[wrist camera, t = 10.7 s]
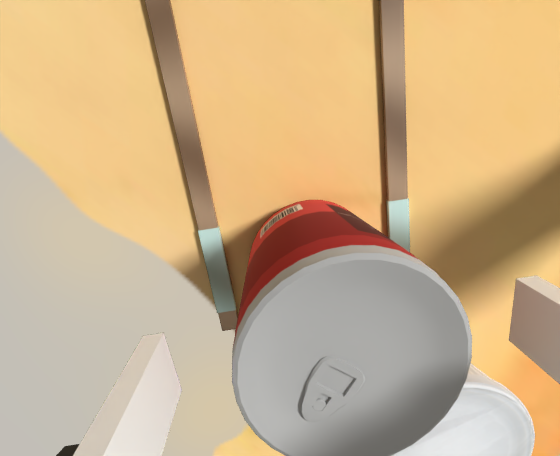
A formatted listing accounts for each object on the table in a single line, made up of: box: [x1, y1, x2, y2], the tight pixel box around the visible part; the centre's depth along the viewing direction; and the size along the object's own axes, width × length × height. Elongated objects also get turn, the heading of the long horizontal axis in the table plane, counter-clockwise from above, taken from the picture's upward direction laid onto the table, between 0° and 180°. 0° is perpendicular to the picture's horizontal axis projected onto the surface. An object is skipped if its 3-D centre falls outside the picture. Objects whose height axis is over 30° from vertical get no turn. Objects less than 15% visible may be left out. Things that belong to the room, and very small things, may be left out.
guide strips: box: [145, 0, 410, 331], centre depth 18 cm, size 27×14×1 cm, turn 8°
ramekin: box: [391, 363, 535, 456], centre depth 22 cm, size 11×11×5 cm
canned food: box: [232, 200, 472, 456], centre depth 15 cm, size 8×8×11 cm
